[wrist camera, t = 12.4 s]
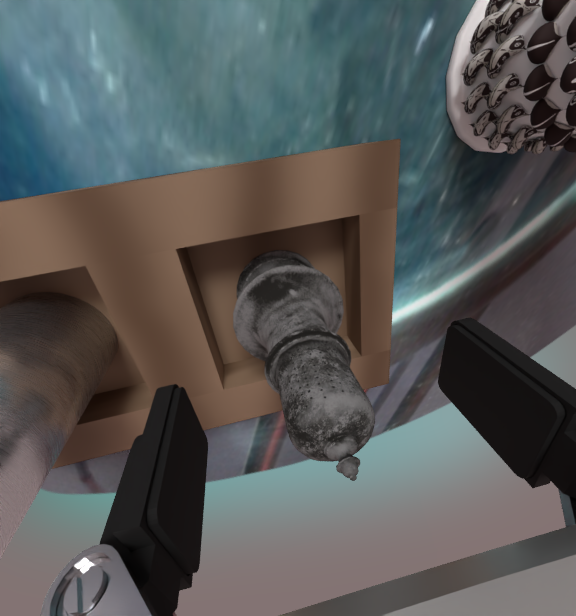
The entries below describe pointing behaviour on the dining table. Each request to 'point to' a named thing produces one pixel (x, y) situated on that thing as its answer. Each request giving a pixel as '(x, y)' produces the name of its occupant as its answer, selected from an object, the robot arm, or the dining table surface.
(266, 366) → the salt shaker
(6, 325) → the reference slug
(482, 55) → the decorative candle
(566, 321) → the dining table surface
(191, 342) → the compartment tray
